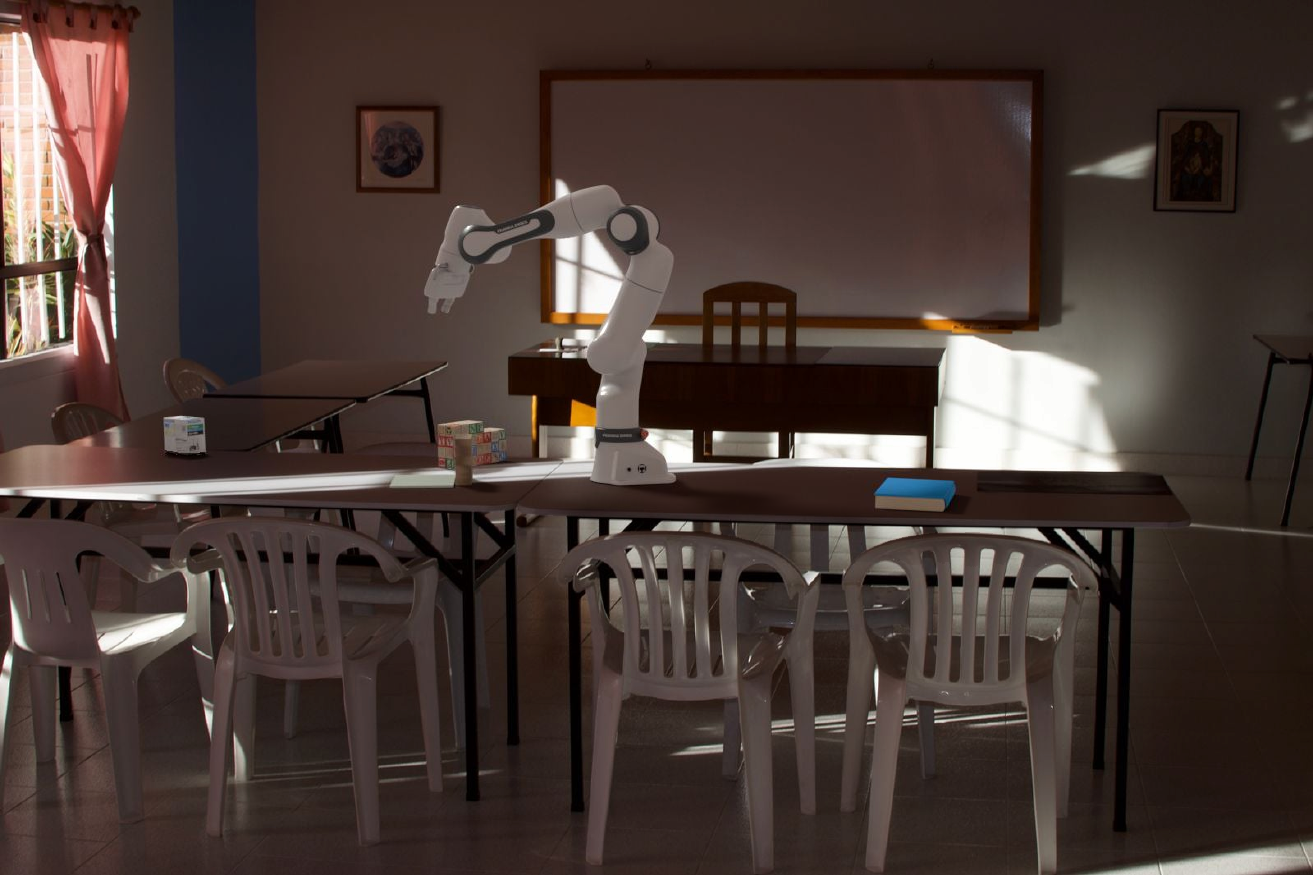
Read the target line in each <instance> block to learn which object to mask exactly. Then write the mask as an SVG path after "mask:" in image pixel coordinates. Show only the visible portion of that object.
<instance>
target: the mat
mask: <svg viewBox="0 0 1313 875" xmlns="http://www.w3.org/2000/svg"><path fill="white" fill-rule="evenodd" d="M455 484H456V473H453V474H451V473H449V474H395V475H394V477H393V478H392V481H391V482H390V485H389V489H427V488H428V489H443V488H444V489H446V488H449V489H450V488H451V489H452V488H454V485H455Z"/></svg>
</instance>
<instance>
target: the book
mask: <svg viewBox="0 0 1313 875" xmlns="http://www.w3.org/2000/svg"><path fill="white" fill-rule="evenodd" d="M956 488H957V486H956V485H955V481H954V480H943V479H941V480H940V479H923V478H922V479H920V478H918V479H917V478H902V477H901V478H900V477H897V478H896V477H887V478H886V480H884V482H883V483H882V484H881V485H880V486H879V488H878V489H877V490H876V491H875V492H874V494H873V496H874V497H875V500H874V506H875V508H874V509H884V510H885V509H889V510H906V511H922V512H925V511H926V512H942V513H943V512H944V511H945V509H947V508H948V506H949V505H950V502H951V500H952V499H953V497H954V495H955V493H956Z"/></svg>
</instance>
